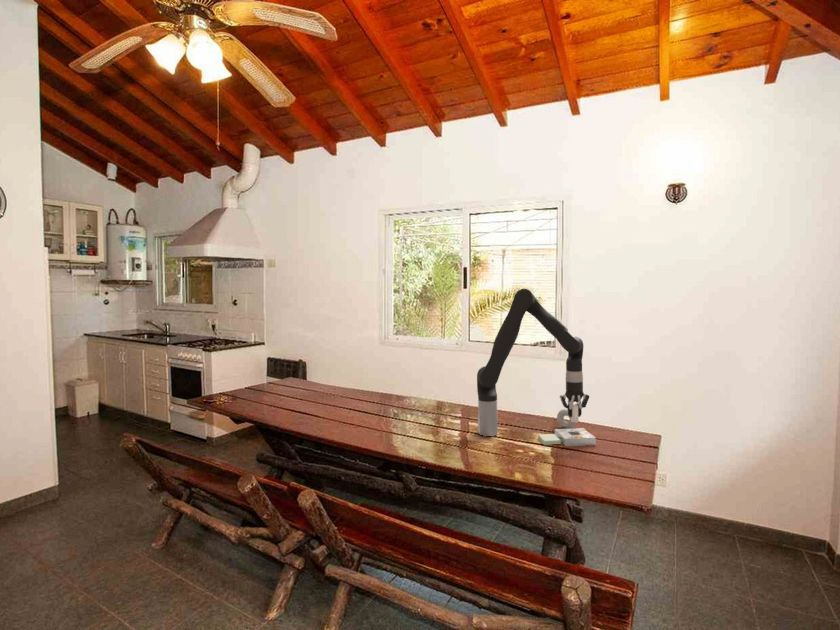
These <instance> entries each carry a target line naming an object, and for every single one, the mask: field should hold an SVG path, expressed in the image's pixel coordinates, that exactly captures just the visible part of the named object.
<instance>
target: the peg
mask: <svg viewBox="0 0 840 630" xmlns="http://www.w3.org/2000/svg"><path fill="white" fill-rule="evenodd" d="M579 421H580V419H579V417H578V404H577V403H573V405H572V417H571V422H574V423H576V424H577V423H579Z"/></svg>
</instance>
